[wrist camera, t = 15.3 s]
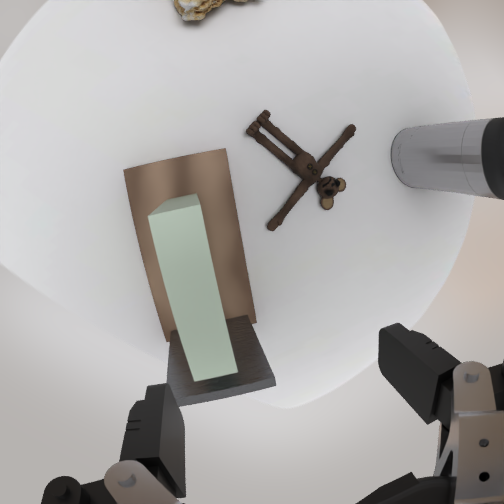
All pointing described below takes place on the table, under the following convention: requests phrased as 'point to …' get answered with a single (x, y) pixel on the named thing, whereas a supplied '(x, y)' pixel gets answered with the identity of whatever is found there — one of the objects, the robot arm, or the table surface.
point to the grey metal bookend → (244, 381)
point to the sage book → (192, 286)
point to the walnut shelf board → (215, 220)
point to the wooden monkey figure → (301, 165)
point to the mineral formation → (197, 8)
